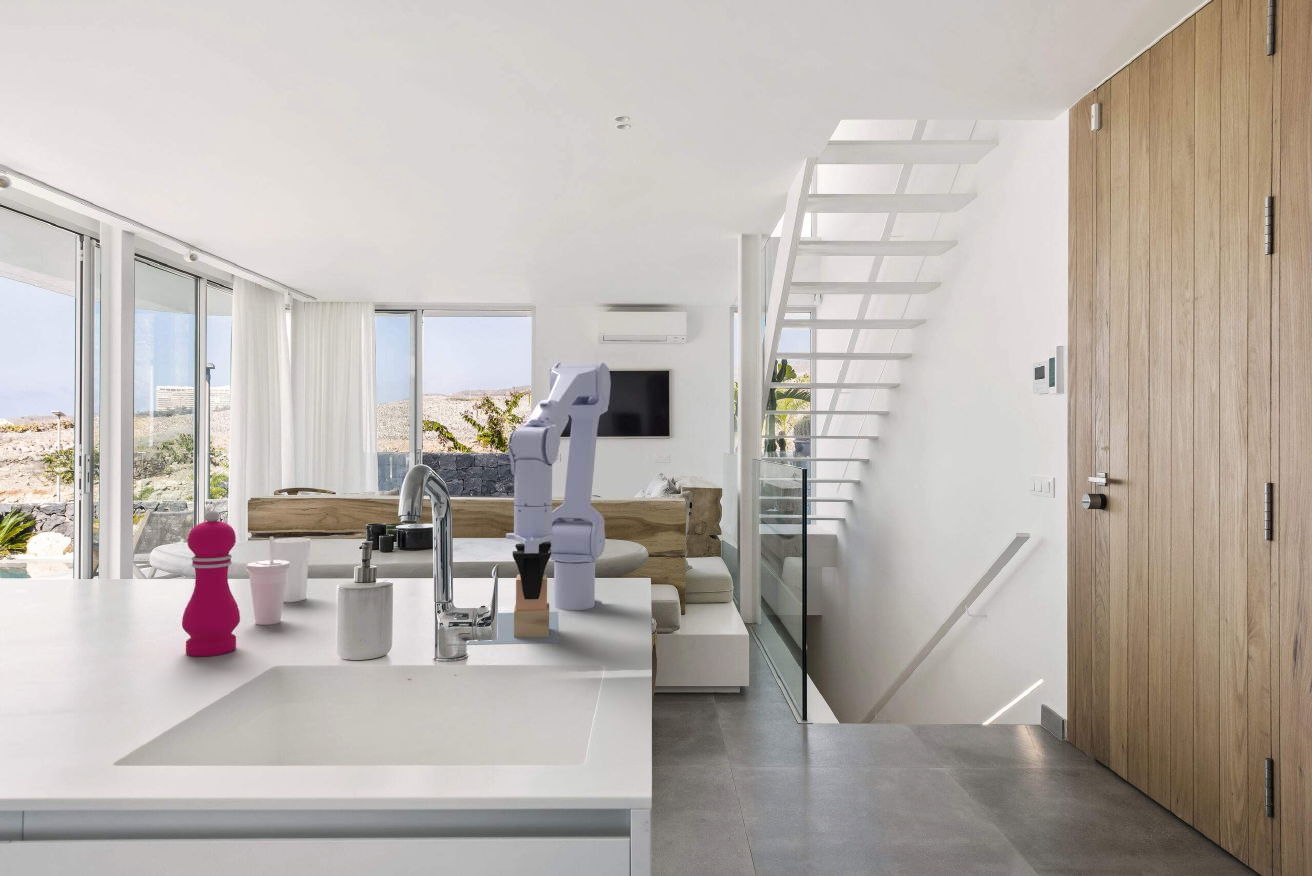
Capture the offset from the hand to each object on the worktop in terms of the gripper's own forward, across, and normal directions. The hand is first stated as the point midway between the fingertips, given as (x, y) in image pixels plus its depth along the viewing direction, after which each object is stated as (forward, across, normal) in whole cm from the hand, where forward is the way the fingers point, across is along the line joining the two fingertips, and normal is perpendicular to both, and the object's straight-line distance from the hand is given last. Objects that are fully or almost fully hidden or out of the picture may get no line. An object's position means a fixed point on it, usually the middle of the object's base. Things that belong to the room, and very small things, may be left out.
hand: (532, 593), depth 123 cm
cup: (+7, -32, -45) cm, 56 cm away
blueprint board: (+7, -4, -4) cm, 9 cm away
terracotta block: (+2, 0, 0) cm, 2 cm away
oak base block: (+6, 0, 0) cm, 6 cm away
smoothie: (+7, -14, -43) cm, 46 cm away
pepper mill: (+7, +3, -45) cm, 46 cm away
